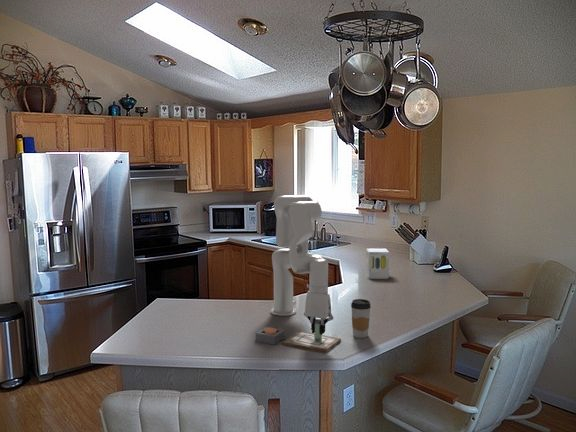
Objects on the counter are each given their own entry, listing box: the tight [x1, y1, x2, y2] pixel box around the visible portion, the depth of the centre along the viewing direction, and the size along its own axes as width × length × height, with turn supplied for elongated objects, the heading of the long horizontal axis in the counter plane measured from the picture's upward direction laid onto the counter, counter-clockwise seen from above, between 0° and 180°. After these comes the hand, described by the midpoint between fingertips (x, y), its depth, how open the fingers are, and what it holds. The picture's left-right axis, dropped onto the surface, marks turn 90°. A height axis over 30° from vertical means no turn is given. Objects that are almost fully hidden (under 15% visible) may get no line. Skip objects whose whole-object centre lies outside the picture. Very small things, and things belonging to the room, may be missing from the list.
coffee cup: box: [350, 298, 371, 339], centre depth 210 cm, size 8×8×15 cm
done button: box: [264, 327, 276, 335], centre depth 206 cm, size 5×5×2 cm
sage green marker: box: [314, 318, 323, 340], centre depth 202 cm, size 3×3×8 cm
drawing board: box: [282, 330, 342, 354], centre depth 203 cm, size 15×19×1 cm
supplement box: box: [365, 247, 390, 280], centre depth 320 cm, size 13×13×18 cm
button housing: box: [255, 326, 286, 345], centre depth 206 cm, size 9×9×3 cm
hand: (318, 332), depth 202 cm, fingers closed on sage green marker, 3 cm apart
